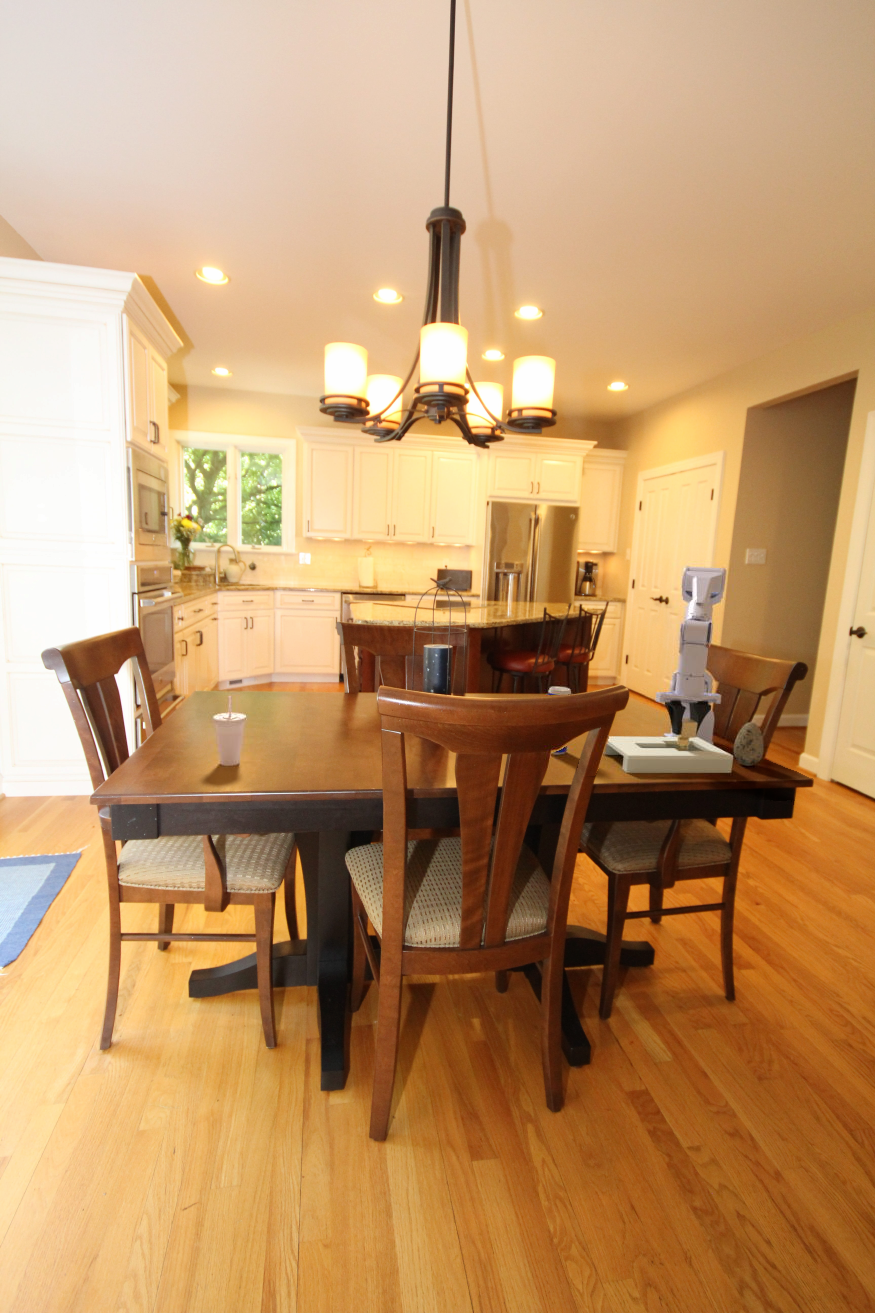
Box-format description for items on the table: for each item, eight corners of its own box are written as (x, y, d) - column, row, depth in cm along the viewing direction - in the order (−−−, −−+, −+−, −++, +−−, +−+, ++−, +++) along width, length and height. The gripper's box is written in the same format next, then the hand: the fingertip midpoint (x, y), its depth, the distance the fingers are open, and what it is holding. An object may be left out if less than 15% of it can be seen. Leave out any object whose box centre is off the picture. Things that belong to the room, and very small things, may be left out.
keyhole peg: (686, 753, 141) (691, 716, 139) (700, 763, 135) (705, 724, 133) (661, 753, 140) (666, 716, 138) (675, 763, 134) (680, 724, 132)
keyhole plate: (695, 752, 145) (697, 737, 145) (731, 772, 132) (733, 755, 131) (600, 752, 142) (601, 736, 141) (626, 772, 128) (628, 755, 128)
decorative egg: (750, 760, 141) (755, 719, 139) (766, 769, 135) (772, 726, 133) (726, 760, 140) (731, 718, 138) (742, 769, 134) (747, 725, 133)
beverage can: (565, 749, 143) (570, 687, 140) (567, 756, 138) (573, 691, 135) (542, 747, 143) (547, 685, 141) (544, 754, 138) (549, 690, 136)
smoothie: (214, 769, 118) (214, 699, 116) (211, 759, 124) (211, 692, 122) (248, 766, 121) (248, 697, 119) (244, 756, 127) (244, 691, 125)
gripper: (669, 677, 129) (662, 738, 131) (732, 678, 131) (724, 739, 133) (653, 671, 136) (647, 729, 138) (713, 672, 138) (706, 730, 140)
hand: (684, 733), depth 136 cm, fingers closed on keyhole peg, 3 cm apart
